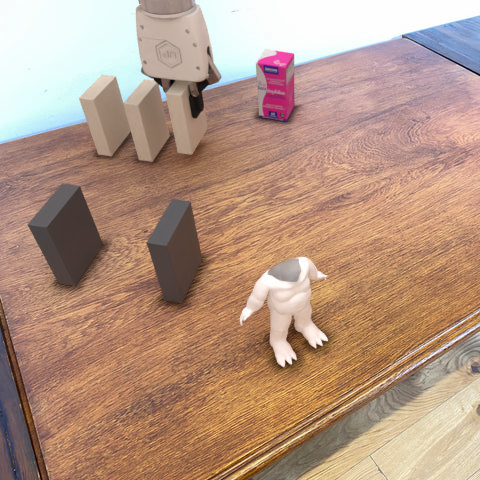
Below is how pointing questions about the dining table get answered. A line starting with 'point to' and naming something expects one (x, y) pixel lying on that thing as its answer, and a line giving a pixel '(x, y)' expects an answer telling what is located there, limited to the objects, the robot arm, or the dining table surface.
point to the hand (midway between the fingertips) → (188, 112)
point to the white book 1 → (105, 114)
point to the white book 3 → (184, 118)
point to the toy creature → (287, 304)
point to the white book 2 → (147, 120)
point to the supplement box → (275, 84)
